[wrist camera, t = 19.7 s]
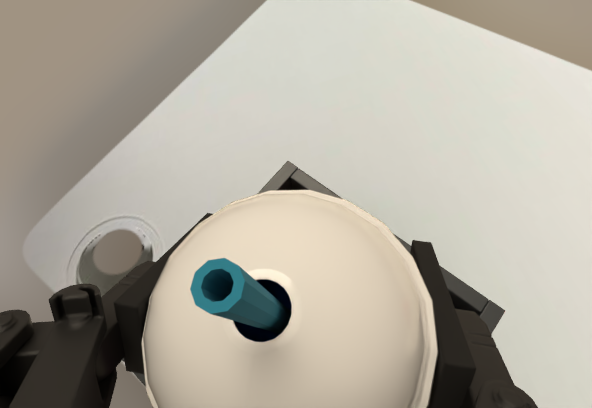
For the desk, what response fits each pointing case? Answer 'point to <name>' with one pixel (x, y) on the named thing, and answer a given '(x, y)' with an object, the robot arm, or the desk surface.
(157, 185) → the desk surface
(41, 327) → the robot arm
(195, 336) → the smoothie
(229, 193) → the desk surface
